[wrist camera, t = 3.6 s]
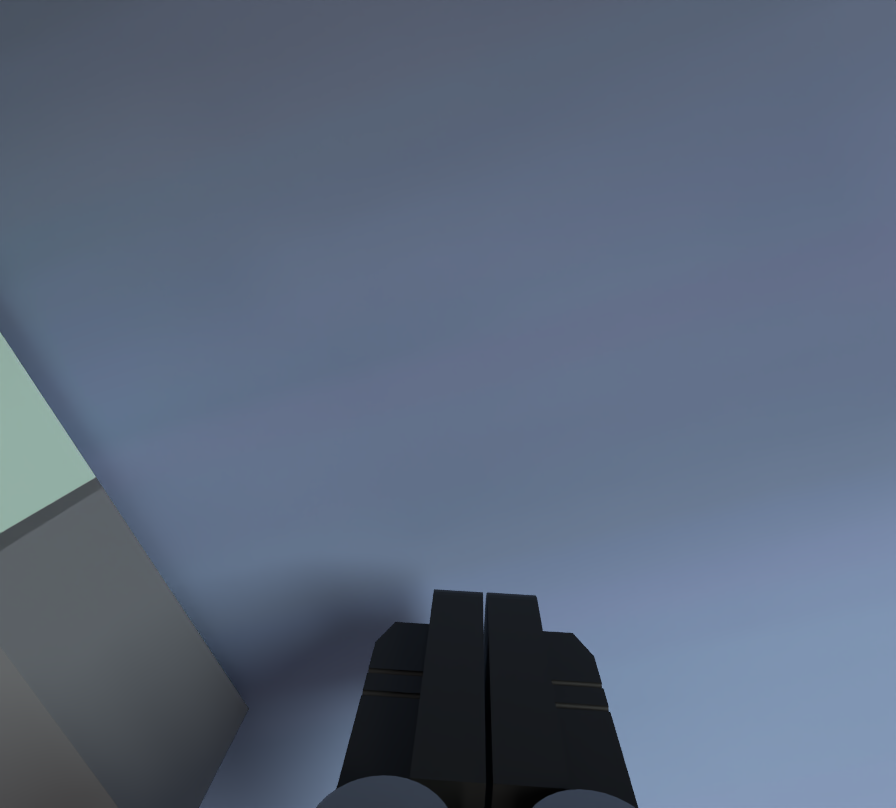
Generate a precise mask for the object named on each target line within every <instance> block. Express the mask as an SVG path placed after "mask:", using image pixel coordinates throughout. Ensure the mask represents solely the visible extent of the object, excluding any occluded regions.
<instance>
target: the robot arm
mask: <svg viewBox="0 0 896 808" xmlns="http://www.w3.org/2000/svg"><path fill="white" fill-rule="evenodd" d="M316 808H638V805H637V802H636V798H635V795H634V792H633V788H632V785H631V781H630V778H629V774H628V771H627V768H626V764H625V761H624V757H623V754H622V751H621V747H620V744H619V740H618V737H617V733H616V730H615V727H614V723H613V720H612V716H611V713H610V712H609V711H608V703H607V699H606V696H605V692H604V689H603V688H602V682H601V679H600V675H599V672H598V669H597V665H596V662H595V658H594V656H593V655H592V654H591V653H590V651H589V650H588V649H587V648H586V647H585V646H584V645H583V644H582V643H581V642H580V641H579V639H578V638H577V637H576V636H575V635H574V634H573V633H563V632H547V631H543V630H542V624H541V618H540V613H539V607H538V601H537V597H536V596H535V595H519V594H503V593H487V595H486V605H485V620H484V630H483V592H468V591H451V590H435V589H434V594H433V601H432V609H431V617H430V624H419V623H403V622H395V623H394V624H393V625H392V626H391V627H390V628H389V629H388V630H387V631H386V632H385V633H384V634H383V635H382V636H381V637H380V638H379V639H378V640H377V641H376V642H375V646H374V650H373V653H372V657H371V661H370V665H369V671H368V673H367V676H366V680H365V684H364V687H363V694H362V695H361V699H360V702H359V706H358V710H357V714H356V718H355V721H354V725H353V729H352V733H351V736H350V740H349V744H348V748H347V751H346V755H345V759H344V763H343V767H342V770H341V774H340V778H339V782H338V785H337V788H336V790H334V791H333V792H332V793H330V794H329V795H328V796H326V797H325V798H324V799H323V800H322V801H321V802H320V803H319V804H318V806H317V807H316Z"/></svg>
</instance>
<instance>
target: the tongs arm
mask: <svg viewBox="0 0 896 808" xmlns="http://www.w3.org/2000/svg"><path fill="white" fill-rule="evenodd" d="M248 709H249V708H248V707H247V705H246V704H245V702H244V701H243V699H242V698H241V696H240V695H239V693H238V692H237V690H236V689H235V687H234V686H233V684H232V683H231V681H230V680H229V678H228V677H227V675H226V674H225V672H224V671H223V669H222V668H221V666H220V665H219V663H218V662H217V660H216V658H215V657H214V655H213V654H212V652H211V651H210V649H209V648H208V646H207V645H206V643H205V642H204V640H203V639H202V637H201V636H200V634H199V633H198V631H197V630H196V628H195V627H194V625H193V624H192V622H191V621H190V619H189V618H188V616H187V615H186V613H185V612H184V610H183V608H182V607H181V605H180V604H179V602H178V601H177V599H176V598H175V596H174V595H173V593H172V592H171V590H170V589H169V587H168V586H167V584H166V583H165V581H164V580H163V578H162V577H161V575H160V574H159V572H158V571H157V569H156V568H155V566H154V565H153V563H152V561H151V560H150V558H149V557H148V555H147V554H146V552H145V551H144V549H143V548H142V546H141V545H140V543H139V542H138V540H137V539H136V537H135V536H134V534H133V533H132V531H131V530H130V528H129V527H128V525H127V524H126V522H125V521H124V519H123V518H122V516H121V515H120V513H119V511H118V510H117V508H116V507H115V505H114V504H113V502H112V501H111V499H110V498H109V496H108V495H107V493H106V492H105V490H104V489H103V487H102V486H101V484H100V483H99V481H98V480H97V478H96V477H95V475H94V474H93V472H92V471H91V469H90V468H89V466H88V464H87V463H86V461H85V460H84V458H83V457H82V455H81V454H80V452H79V451H78V449H77V448H76V446H75V445H74V443H73V442H72V440H71V439H70V437H69V436H68V434H67V433H66V431H65V430H64V428H63V427H62V425H61V424H60V422H59V421H58V419H57V418H56V416H55V414H54V413H53V411H52V410H51V408H50V407H49V405H48V404H47V402H46V401H45V399H44V398H43V396H42V395H41V393H40V392H39V390H38V389H37V387H36V386H35V384H34V383H33V381H32V380H31V378H30V377H29V375H28V374H27V372H26V371H25V369H24V367H23V366H22V364H21V363H20V361H19V360H18V358H17V357H16V355H15V354H14V352H13V351H12V349H11V348H10V346H9V345H8V343H7V342H6V340H5V339H4V337H3V336H2V334H1V333H0V808H199V806H200V804H201V802H202V800H203V798H204V796H205V794H206V792H207V790H208V788H209V786H210V785H211V783H212V781H213V779H214V777H215V775H216V773H217V771H218V769H219V767H220V765H221V763H222V761H223V759H224V757H225V755H226V753H227V751H228V749H229V747H230V745H231V743H232V741H233V739H234V737H235V735H236V733H237V731H238V729H239V727H240V725H241V723H242V721H243V719H244V717H245V715H246V713H247V711H248Z"/></svg>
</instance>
